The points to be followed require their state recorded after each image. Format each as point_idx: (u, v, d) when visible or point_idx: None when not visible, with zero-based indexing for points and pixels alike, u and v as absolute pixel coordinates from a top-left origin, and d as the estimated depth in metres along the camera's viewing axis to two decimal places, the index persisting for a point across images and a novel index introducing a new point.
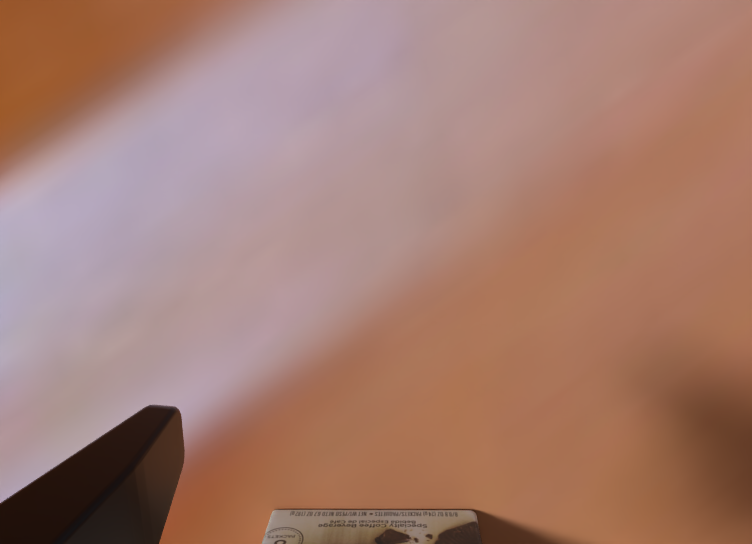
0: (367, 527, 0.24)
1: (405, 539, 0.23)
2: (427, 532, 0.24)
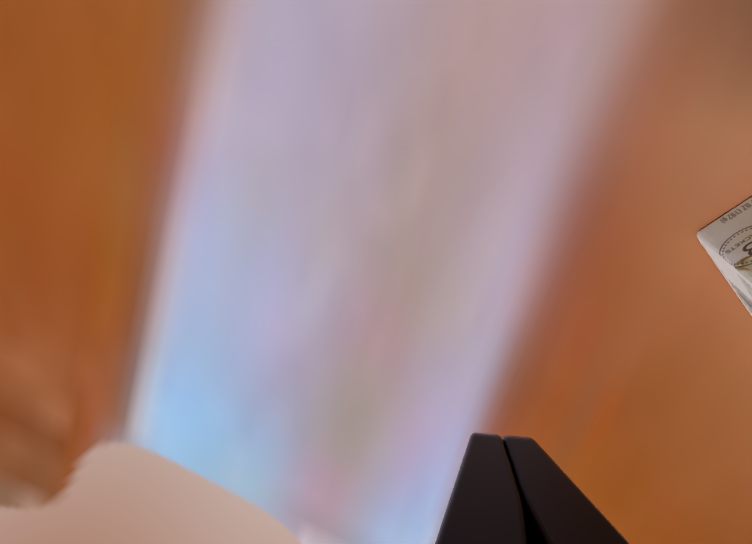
0: None
1: None
2: None
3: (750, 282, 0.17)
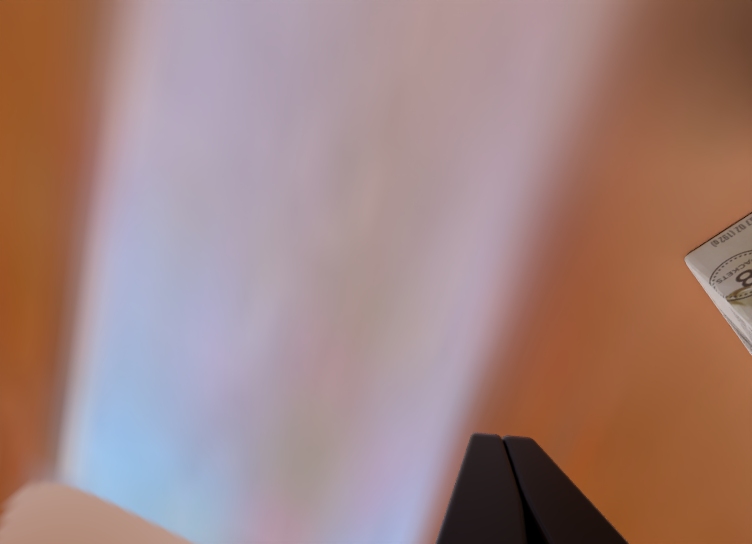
0: None
1: None
2: None
3: (744, 319, 0.15)
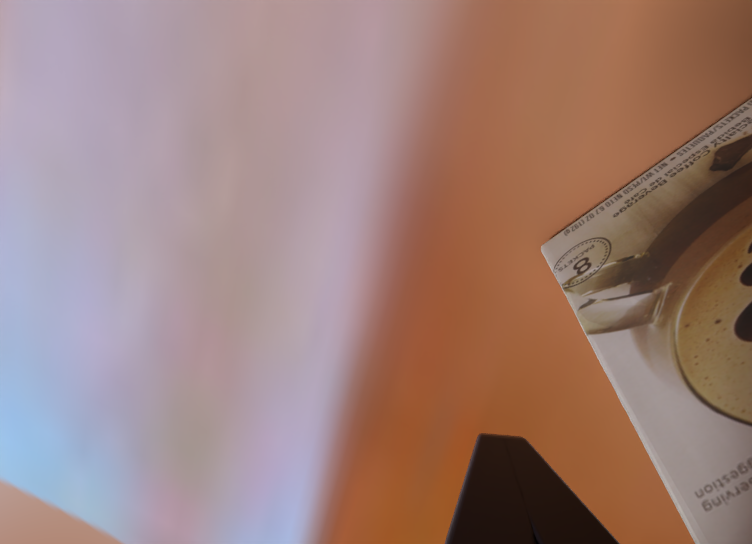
0: (685, 170, 0.15)
1: None
2: None
3: (572, 307, 0.15)
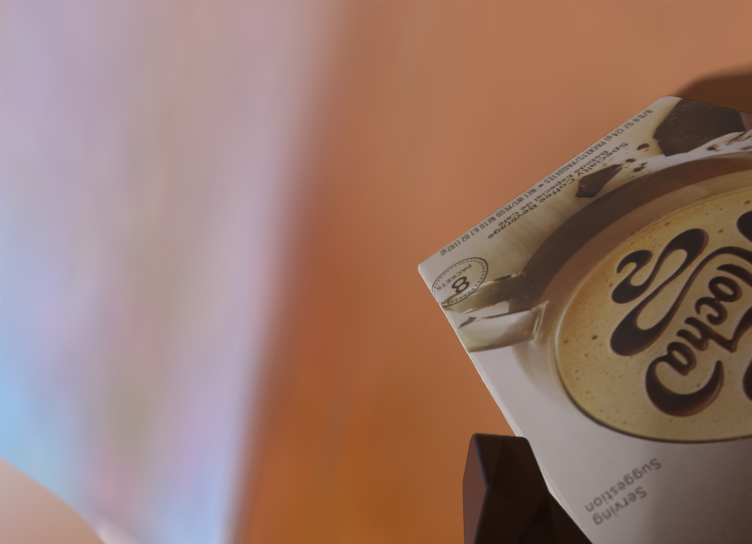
0: (553, 196, 0.16)
1: (615, 170, 0.15)
2: (635, 146, 0.16)
3: (452, 325, 0.15)
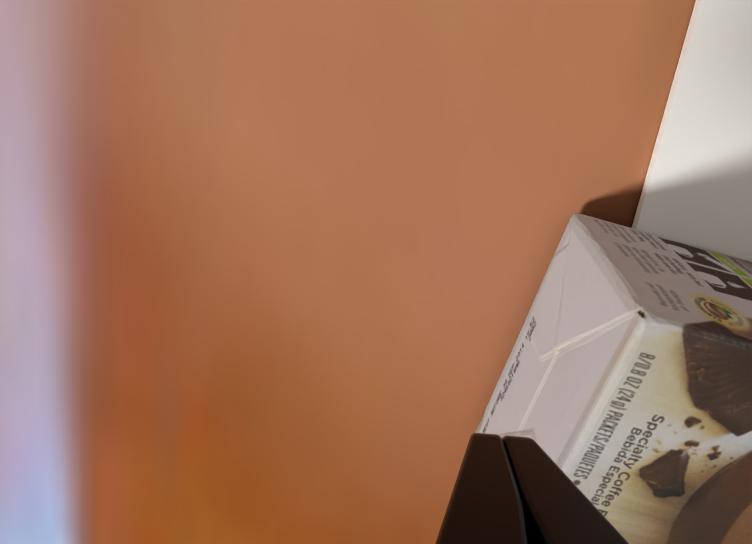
0: (618, 498, 0.14)
1: (680, 458, 0.13)
2: (679, 420, 0.13)
3: None
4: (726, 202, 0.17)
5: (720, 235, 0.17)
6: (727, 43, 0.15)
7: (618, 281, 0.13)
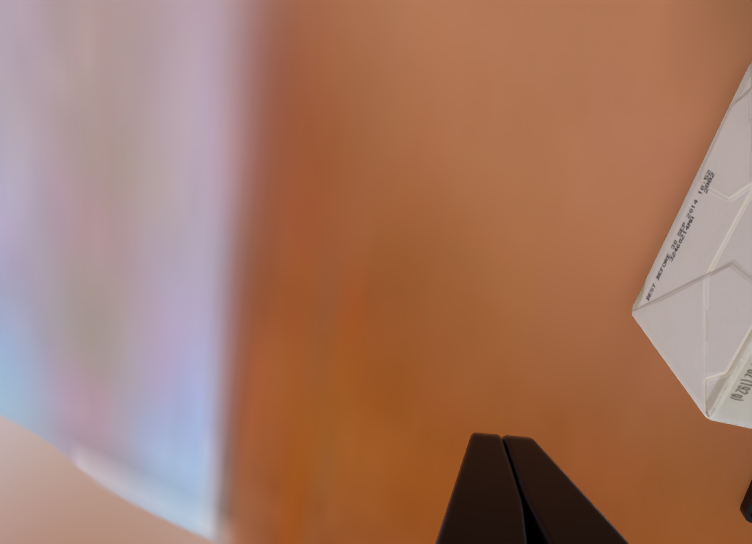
0: None
1: None
2: None
3: None
4: None
5: None
6: None
7: None
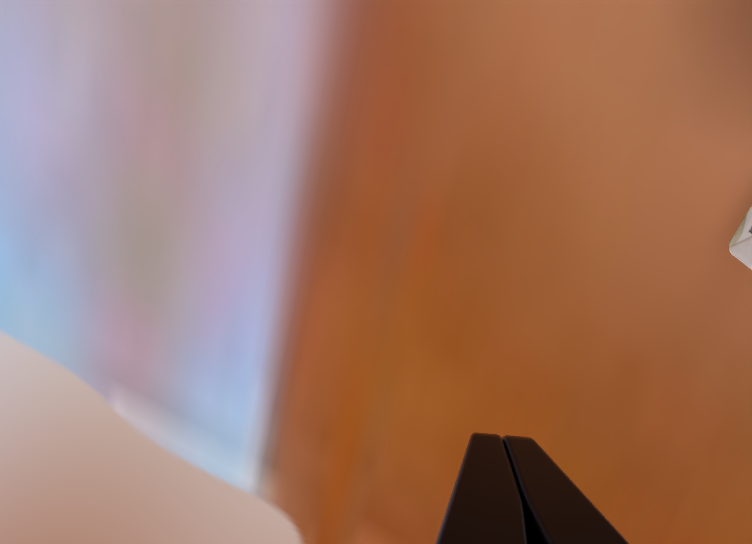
0: None
1: None
2: None
3: None
4: None
5: None
6: None
7: None
